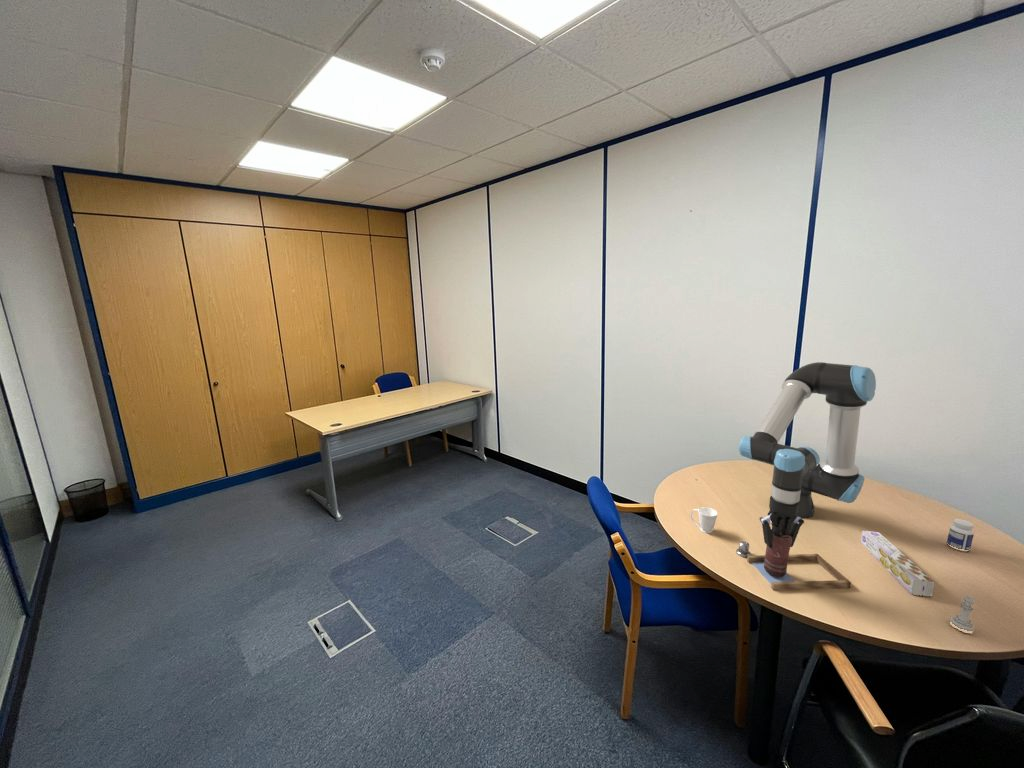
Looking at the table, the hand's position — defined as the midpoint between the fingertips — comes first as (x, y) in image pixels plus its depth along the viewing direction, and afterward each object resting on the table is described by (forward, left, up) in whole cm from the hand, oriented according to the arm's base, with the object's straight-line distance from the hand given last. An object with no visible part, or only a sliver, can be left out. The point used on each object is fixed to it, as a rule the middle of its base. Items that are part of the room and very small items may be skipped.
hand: (775, 564), depth 131 cm
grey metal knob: (+4, -11, -4) cm, 12 cm away
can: (0, 0, -3) cm, 3 cm away
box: (-40, -2, -4) cm, 40 cm away
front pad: (0, 0, -4) cm, 4 cm away
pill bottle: (-72, -11, -4) cm, 73 cm away
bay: (-7, 0, -4) cm, 8 cm away
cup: (+11, -27, -4) cm, 29 cm away
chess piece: (-36, +23, -4) cm, 43 cm away
